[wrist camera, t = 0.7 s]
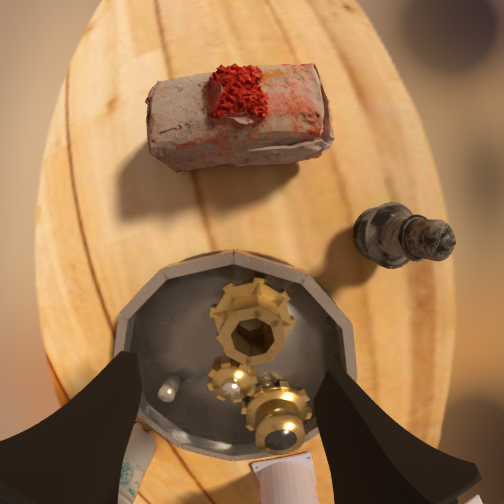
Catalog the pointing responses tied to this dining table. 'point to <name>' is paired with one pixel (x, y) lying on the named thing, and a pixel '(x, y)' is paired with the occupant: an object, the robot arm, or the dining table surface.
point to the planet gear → (248, 307)
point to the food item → (239, 117)
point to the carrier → (225, 368)
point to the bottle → (135, 463)
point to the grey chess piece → (401, 236)
